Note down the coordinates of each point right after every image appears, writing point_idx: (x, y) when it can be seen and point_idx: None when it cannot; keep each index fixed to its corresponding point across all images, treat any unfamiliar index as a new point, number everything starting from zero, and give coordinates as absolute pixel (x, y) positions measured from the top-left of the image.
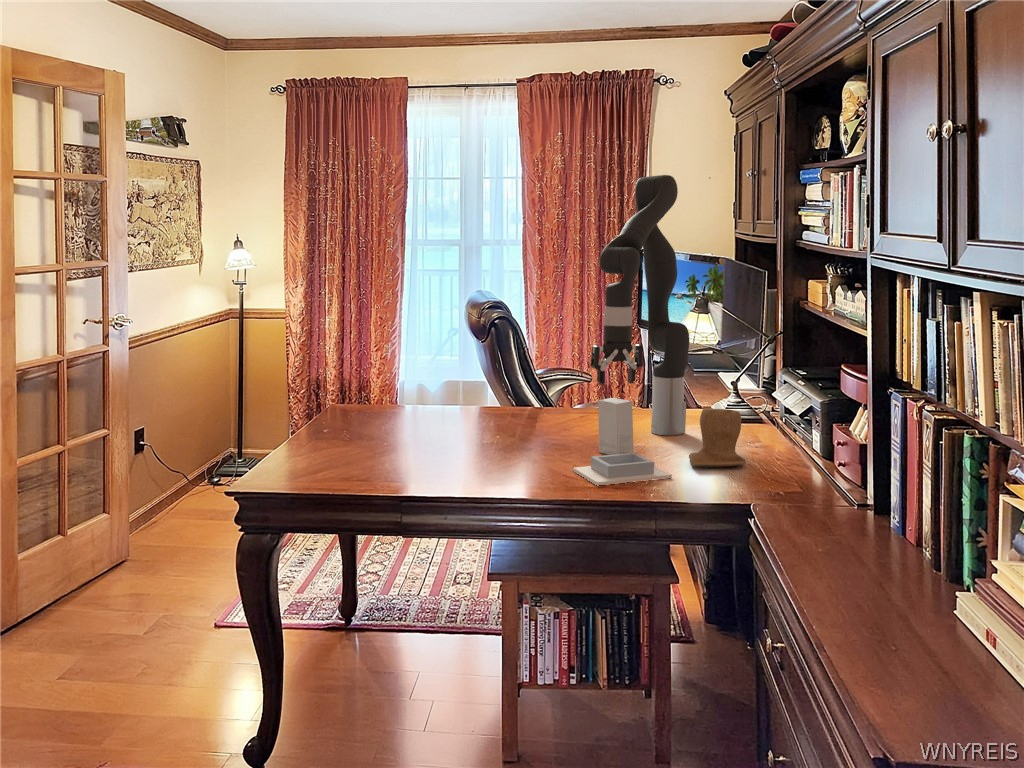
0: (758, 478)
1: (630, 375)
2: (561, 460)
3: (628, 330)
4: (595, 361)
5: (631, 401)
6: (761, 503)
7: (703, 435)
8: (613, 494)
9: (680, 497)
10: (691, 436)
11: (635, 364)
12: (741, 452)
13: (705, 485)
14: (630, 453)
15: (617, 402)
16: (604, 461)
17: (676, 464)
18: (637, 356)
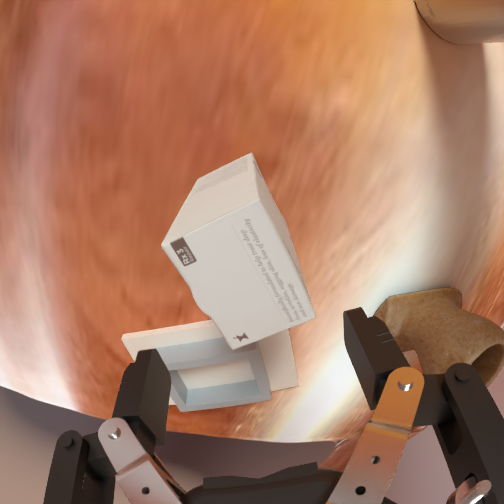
0: (420, 370)
1: (359, 371)
2: (94, 253)
3: None
4: (92, 500)
5: (310, 319)
6: (353, 438)
7: (419, 353)
8: (186, 423)
9: (272, 433)
10: (485, 64)
11: (416, 424)
12: (500, 227)
13: (331, 401)
14: (243, 353)
15: (240, 333)
16: (176, 392)
17: (351, 304)
18: (455, 463)
